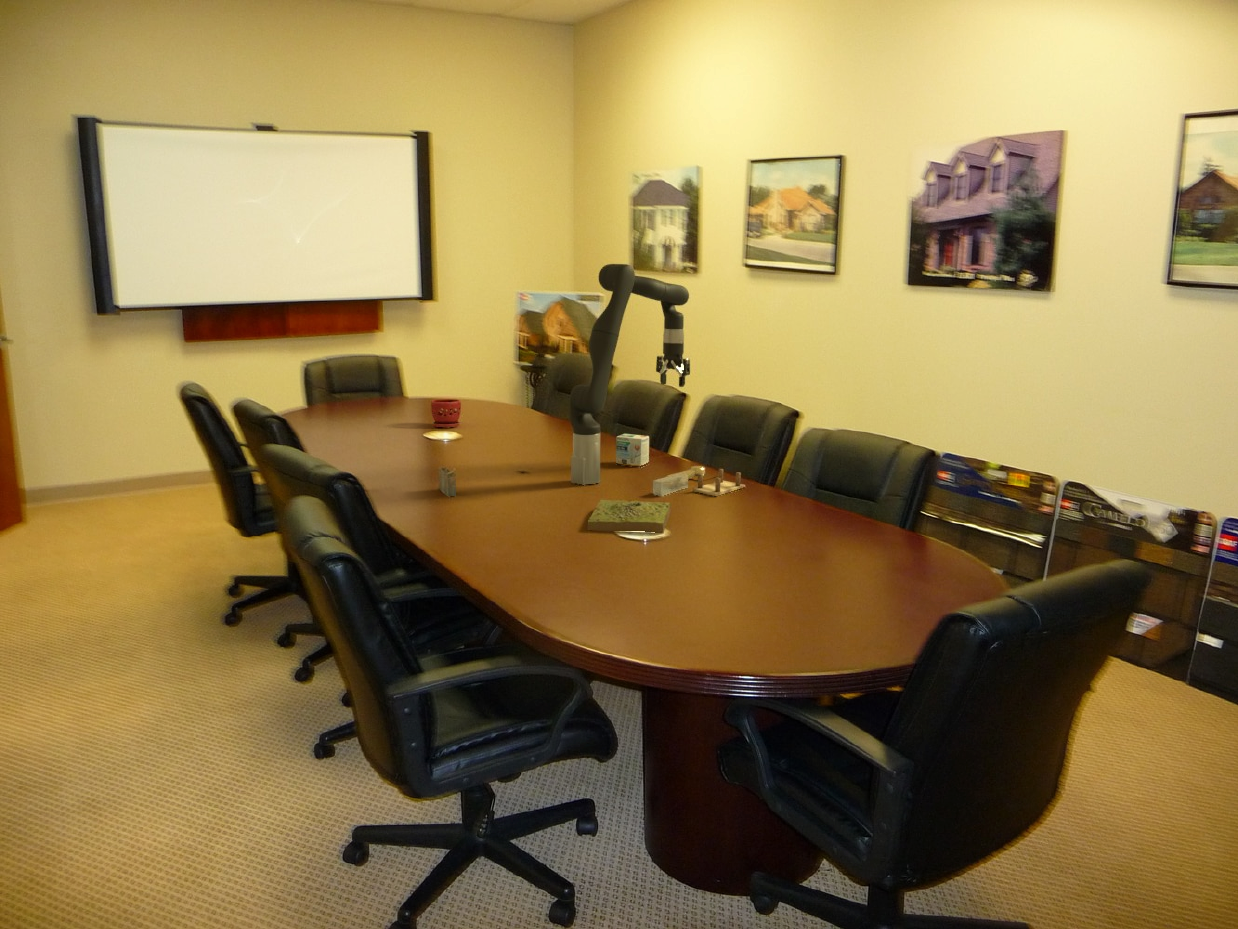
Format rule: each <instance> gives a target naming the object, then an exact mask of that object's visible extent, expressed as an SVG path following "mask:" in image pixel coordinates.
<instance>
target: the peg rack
mask: <svg viewBox="0 0 1238 929" xmlns="http://www.w3.org/2000/svg"><path fill="white" fill-rule="evenodd" d="M717 474H718V475H717V476H718V477H716V478H715V481H714V482H711V483H708V484H704V481H703V474H698V481H697V486H696V487H693V488H692V492H693V491H696V492H699V493H698V494H700V493H704V494H708V495H707V496H709V495H713V496H712V497H714V496H718V495H721V494H724V495H726V494H725V493H728V492H731V491H734V490H737V489H740V488H743V487H745V488H746V484H743V483H741V478H742V477H741V475H742V473H741V472H738V471H737V472H735V482H734V481H733V482H732V481H728V480H724V469H723V468H718V472H717ZM731 493H732V492H731ZM704 494H703V495H704ZM728 494H729V493H728ZM721 496H722V495H721ZM718 497H719V496H718Z"/></svg>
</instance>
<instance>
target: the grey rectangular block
mask: <svg viewBox="0 0 1238 929" xmlns="http://www.w3.org/2000/svg"><path fill="white" fill-rule="evenodd" d="M685 488H688V489H689V479H688V475H685V474H676V475H672V476H669V477H666V476H665V477H661V478H658V479H654V480H652V495H653V494H654V495H653V496H656V495H658V496H657V497H660V496H662V497H665V496H664V495H666V496H668V495H667V494H669V495H671V494H670V493H673V492H676V491H678V490H681V489H685ZM676 493H677V492H676ZM673 494H674V493H673Z"/></svg>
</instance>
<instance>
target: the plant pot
mask: <svg viewBox="0 0 1238 929" xmlns="http://www.w3.org/2000/svg"><path fill="white" fill-rule="evenodd" d="M430 407H431V408H430V409H431V417H432V418H433V421H434V422H433V423H432V424H433V426H434V427H435V426H436V427H435V428H438V427H447V428H448V427H454V428H457V427H458V426H460V421H459V419H460V417H461V410H462V401H461V400H460V399H454V398H452V399H451V398H440V399H433V400H431V401H430ZM456 426H457V427H456ZM447 428H446V429H447ZM448 429H449V428H448Z"/></svg>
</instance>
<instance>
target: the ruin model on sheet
mask: <svg viewBox="0 0 1238 929" xmlns="http://www.w3.org/2000/svg"><path fill="white" fill-rule="evenodd" d="M456 469H457V467H455V466H453V467H452V468H451V470H450V469H449V468H447V466H446V467H438V490H439V489H440V490H441V493H443V494H444V495H445V496H446V497H447V496H448V498H450V497H449V496H456V497H457V483H456V478H457V477H456V474H455V473H454V472H455V471H456Z"/></svg>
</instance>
